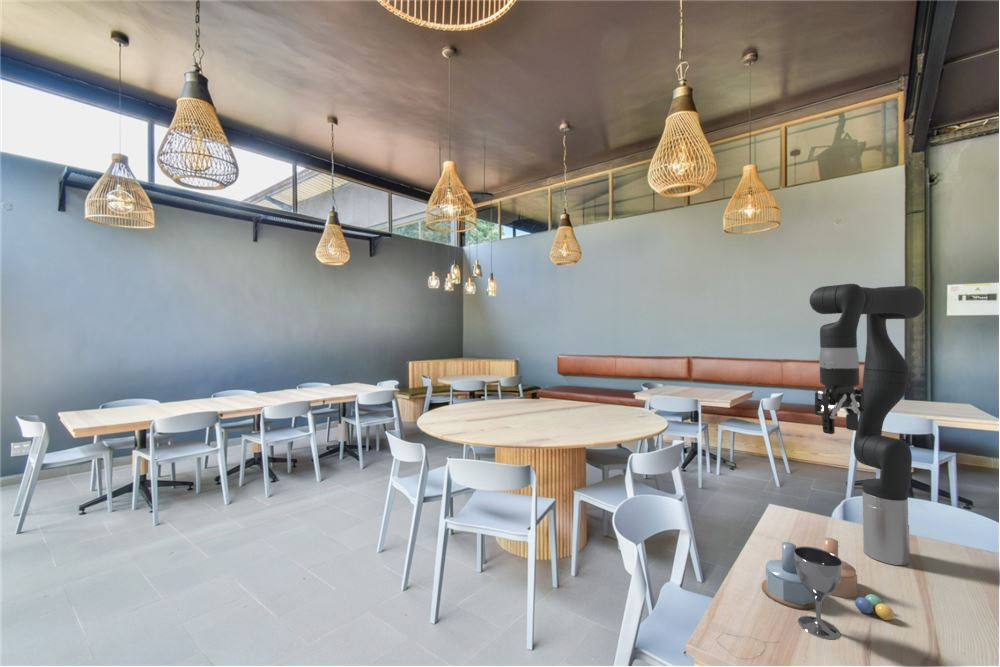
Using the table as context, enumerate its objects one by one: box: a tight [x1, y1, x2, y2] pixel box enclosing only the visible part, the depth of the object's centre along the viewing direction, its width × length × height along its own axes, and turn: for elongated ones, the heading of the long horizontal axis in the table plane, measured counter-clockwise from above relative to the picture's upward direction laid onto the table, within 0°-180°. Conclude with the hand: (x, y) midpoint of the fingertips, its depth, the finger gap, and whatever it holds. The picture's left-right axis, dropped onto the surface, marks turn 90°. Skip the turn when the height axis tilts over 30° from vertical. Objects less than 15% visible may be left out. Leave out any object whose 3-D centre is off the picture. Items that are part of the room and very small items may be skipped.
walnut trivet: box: [761, 579, 816, 611], centre depth 98 cm, size 11×11×1 cm
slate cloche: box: [765, 541, 815, 605], centre depth 98 cm, size 9×9×11 cm
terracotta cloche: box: [823, 537, 858, 599], centre depth 101 cm, size 9×9×11 cm
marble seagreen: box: [864, 594, 884, 611], centre depth 93 cm, size 3×3×3 cm
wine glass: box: [794, 546, 843, 640], centre depth 87 cm, size 8×8×15 cm
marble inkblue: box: [854, 596, 874, 614], centre depth 91 cm, size 3×3×3 cm
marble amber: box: [874, 603, 895, 621], centre depth 89 cm, size 3×3×3 cm
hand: (840, 431), depth 101 cm, fingers open, 8 cm apart
